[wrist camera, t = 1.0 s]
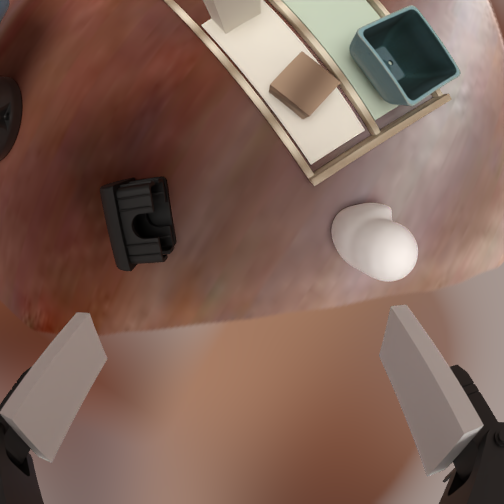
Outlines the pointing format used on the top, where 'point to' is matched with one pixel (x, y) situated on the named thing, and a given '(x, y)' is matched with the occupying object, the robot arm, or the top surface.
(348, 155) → the lane frame
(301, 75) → the walnut block
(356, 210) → the figurine
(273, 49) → the cream strip
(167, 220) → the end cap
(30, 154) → the top surface
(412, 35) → the flower pot
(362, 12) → the sage strip
